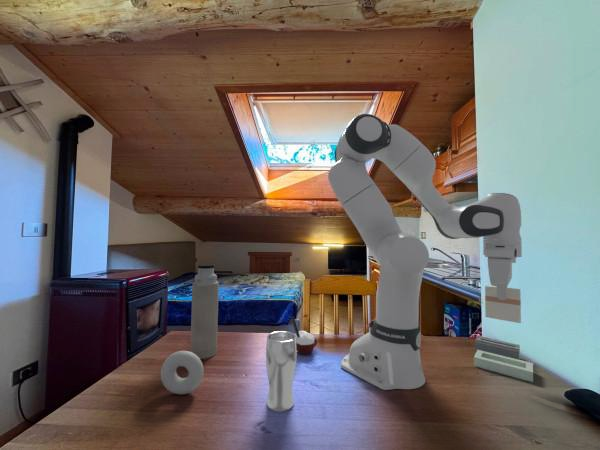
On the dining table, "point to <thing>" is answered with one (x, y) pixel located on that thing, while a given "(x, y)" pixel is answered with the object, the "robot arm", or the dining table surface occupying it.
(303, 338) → the coconut drink with straw
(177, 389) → the donut
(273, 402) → the beer glass
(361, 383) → the dining table surface
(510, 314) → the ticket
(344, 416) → the dining table surface
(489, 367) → the tray
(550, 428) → the dining table surface
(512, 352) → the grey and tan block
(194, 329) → the thermos bottle
